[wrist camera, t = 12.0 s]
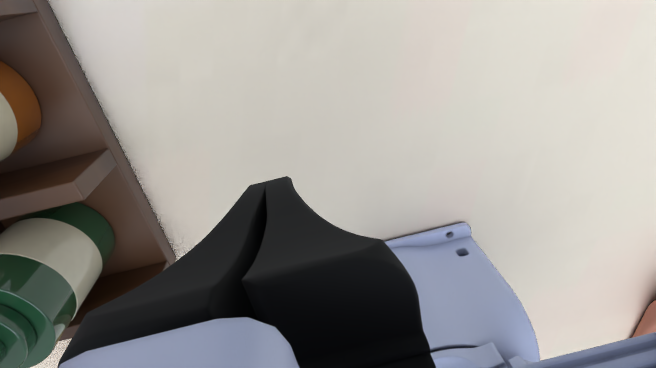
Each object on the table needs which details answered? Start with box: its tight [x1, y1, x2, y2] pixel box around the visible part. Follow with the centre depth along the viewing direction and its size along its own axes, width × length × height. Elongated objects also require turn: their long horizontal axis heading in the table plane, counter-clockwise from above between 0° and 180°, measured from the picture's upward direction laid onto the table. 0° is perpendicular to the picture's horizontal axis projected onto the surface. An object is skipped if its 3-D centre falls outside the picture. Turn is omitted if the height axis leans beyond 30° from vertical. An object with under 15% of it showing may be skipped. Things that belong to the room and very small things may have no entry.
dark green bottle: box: [0, 202, 115, 368], centre depth 18 cm, size 5×5×10 cm
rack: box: [0, 0, 176, 341], centre depth 18 cm, size 8×16×8 cm, turn 12°
